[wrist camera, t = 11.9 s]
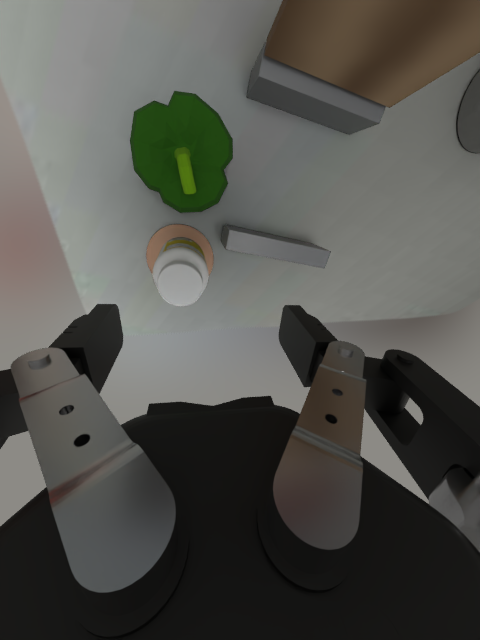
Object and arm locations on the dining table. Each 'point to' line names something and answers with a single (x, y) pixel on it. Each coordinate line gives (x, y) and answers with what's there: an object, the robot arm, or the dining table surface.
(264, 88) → the rails
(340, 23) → the tan flat square panel
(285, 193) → the dining table surface
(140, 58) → the dining table surface
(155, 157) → the bell pepper
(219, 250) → the dining table surface
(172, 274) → the supplement bottle
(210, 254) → the coaster
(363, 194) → the dining table surface
